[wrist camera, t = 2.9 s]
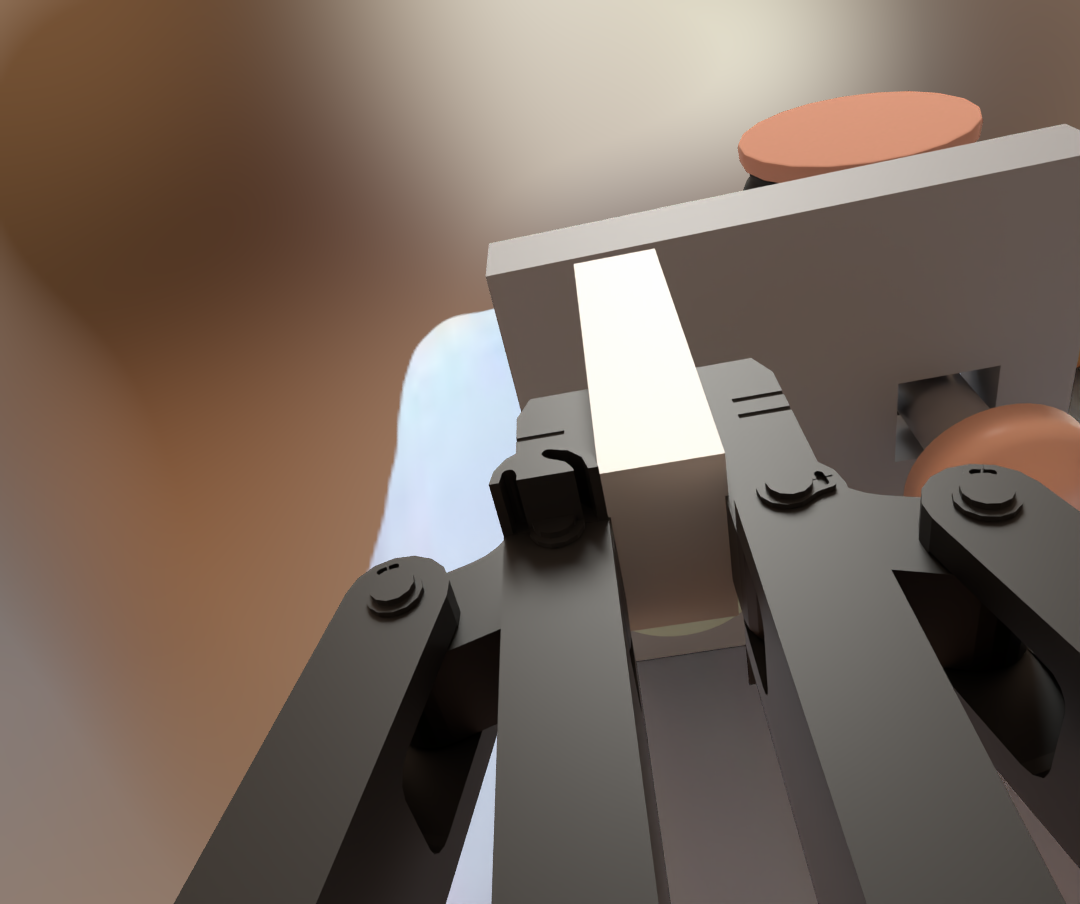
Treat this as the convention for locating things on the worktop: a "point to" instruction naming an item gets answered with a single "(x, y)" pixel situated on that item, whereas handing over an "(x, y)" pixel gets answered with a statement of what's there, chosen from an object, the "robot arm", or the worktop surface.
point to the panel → (839, 297)
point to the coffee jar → (854, 134)
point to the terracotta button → (988, 435)
